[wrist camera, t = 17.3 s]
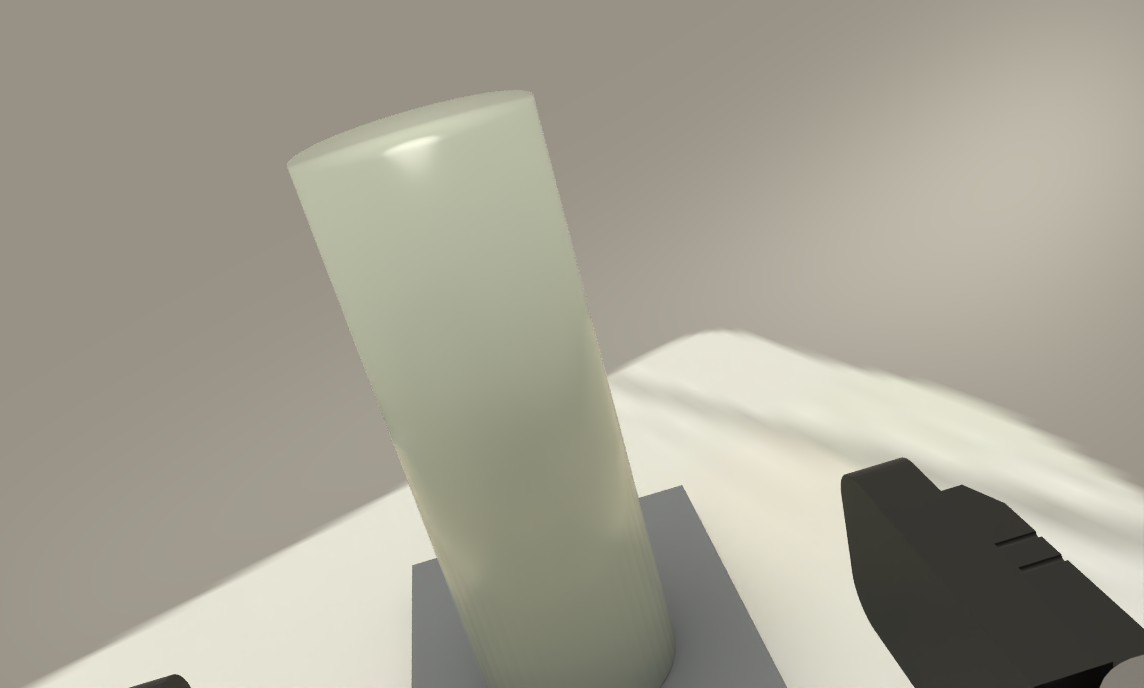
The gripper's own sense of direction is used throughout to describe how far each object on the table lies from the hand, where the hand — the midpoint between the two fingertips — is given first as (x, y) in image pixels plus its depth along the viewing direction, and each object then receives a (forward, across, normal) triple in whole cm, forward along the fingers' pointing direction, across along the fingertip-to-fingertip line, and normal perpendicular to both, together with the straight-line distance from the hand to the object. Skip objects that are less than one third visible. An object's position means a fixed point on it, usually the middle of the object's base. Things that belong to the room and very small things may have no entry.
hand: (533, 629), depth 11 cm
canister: (+10, 0, +10) cm, 14 cm away
